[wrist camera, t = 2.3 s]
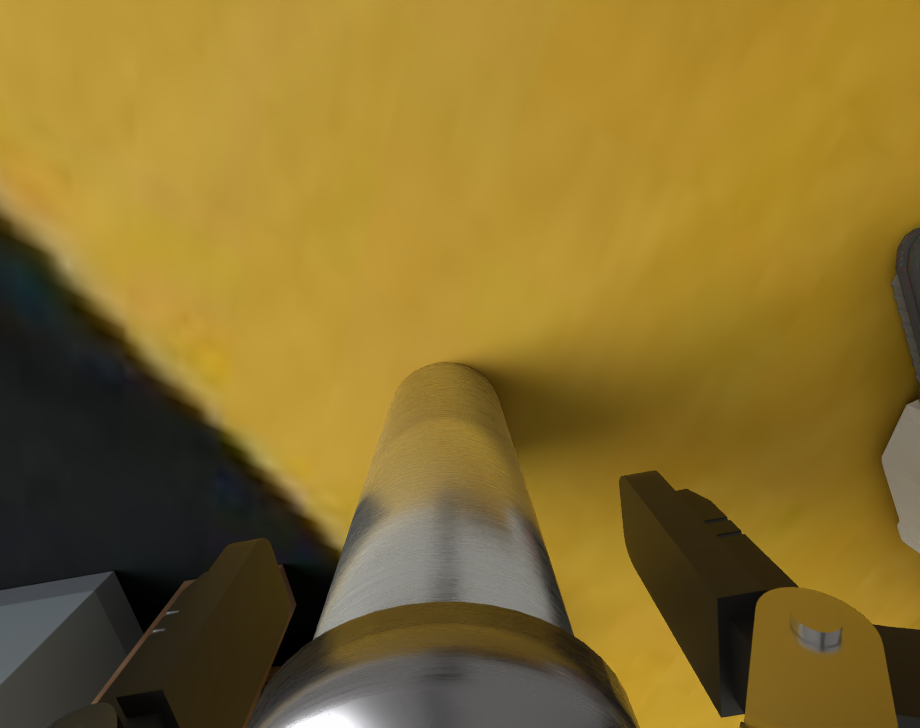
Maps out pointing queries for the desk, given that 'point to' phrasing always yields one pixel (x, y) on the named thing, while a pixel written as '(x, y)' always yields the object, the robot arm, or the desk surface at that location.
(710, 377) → the desk surface
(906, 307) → the walkie-talkie
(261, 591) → the robot arm
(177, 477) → the desk surface
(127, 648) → the dock socket
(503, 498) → the silver round-topped cylinder
